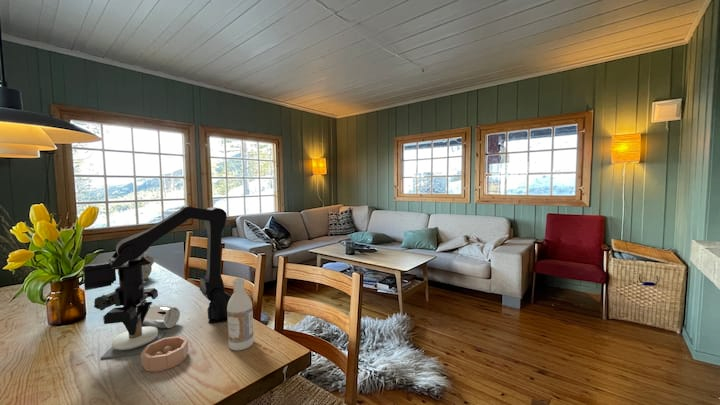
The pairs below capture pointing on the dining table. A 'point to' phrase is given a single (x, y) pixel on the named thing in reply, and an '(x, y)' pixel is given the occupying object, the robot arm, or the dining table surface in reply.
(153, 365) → the bowl
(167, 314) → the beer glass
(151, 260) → the rock
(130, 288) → the robot arm
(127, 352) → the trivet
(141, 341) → the lid
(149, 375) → the dining table surface
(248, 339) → the bath foam
